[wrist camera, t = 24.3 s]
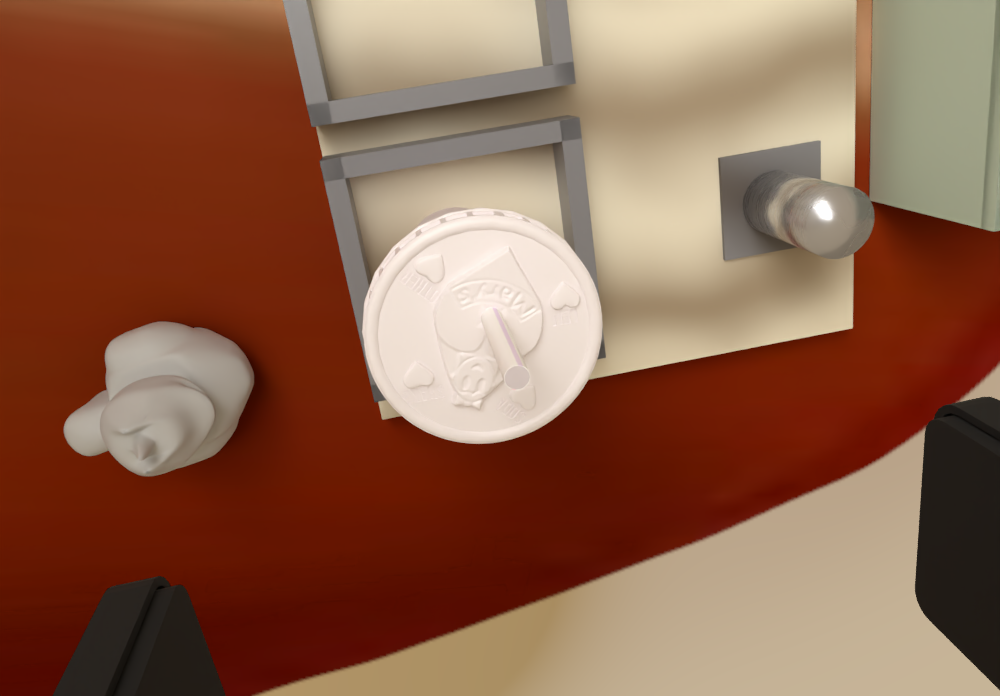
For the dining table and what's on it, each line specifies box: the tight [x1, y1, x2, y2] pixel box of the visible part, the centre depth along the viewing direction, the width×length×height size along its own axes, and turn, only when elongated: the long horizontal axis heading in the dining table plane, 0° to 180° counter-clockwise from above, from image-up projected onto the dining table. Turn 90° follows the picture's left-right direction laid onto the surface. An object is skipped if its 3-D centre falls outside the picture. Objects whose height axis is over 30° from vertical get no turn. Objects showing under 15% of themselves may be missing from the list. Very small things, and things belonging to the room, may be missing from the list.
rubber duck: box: [64, 321, 254, 476], centre depth 27 cm, size 5×7×8 cm
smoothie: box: [362, 207, 602, 444], centre depth 22 cm, size 6×6×14 cm
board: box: [311, 0, 856, 420], centre depth 28 cm, size 22×20×1 cm
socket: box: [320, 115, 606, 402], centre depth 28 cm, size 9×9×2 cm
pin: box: [743, 170, 874, 259], centre depth 27 cm, size 2×2×5 cm
